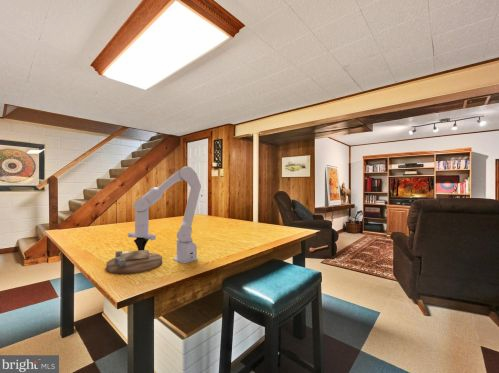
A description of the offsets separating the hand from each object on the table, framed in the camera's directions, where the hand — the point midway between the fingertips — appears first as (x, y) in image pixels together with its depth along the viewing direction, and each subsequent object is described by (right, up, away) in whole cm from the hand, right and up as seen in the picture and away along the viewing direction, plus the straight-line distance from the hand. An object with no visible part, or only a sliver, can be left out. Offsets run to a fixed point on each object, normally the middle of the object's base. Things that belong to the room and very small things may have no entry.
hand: (141, 254), depth 109 cm
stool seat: (0, -3, -5) cm, 6 cm away
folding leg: (-2, -1, -4) cm, 4 cm away
